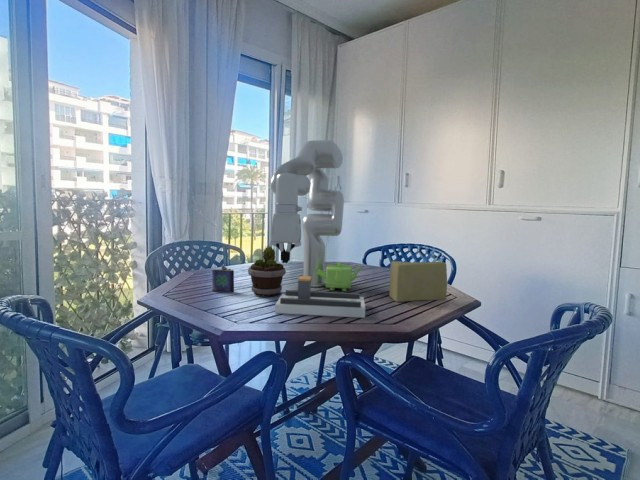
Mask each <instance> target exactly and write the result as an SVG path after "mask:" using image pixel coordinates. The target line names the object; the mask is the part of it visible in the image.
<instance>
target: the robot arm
mask: <svg viewBox="0 0 640 480" xmlns="http://www.w3.org/2000/svg"><path fill="white" fill-rule="evenodd" d="M343 158H344V157H343V153H342V150H341V149H340V148H339V146H338V145H337V144H336V142H334V141H332V140H325V139H324V140H307V141H306V142H304V143H303V144H302V146H301V148H300V150H299V151H298V153H297V155H296V157H294V158H292V159H290V160H288V161H286V162H284V163H283V164H280V165H279V166H278V167H277V168H276V170H275V172H274V173H273V174H272V178H271V180H270V189H271V191H272V193H273V194H274V195H275V212H274V213H273V215H272V220H271V227H270V229H271V230H270V243H269V246H272V247H276V248H277V249H278V250H279V251H280V261H281V262H282V263H281V264H288V263H289V261H290V260H291V251H292V250H293V249H295V248H297V247H301V246H302V240H301V239H302V232H303V268H302V269H303V271H302V274H303V275H302V276H311V288H319V287H326V279H324V278H323V277H322V276H320V275H319V274H317V273H316V272H317V271H318V270H319V269H320V270H321V271H323V272H324V273H325V269H326V268H325V265H326V264H325V263H326V244H325V241H324V240H323V238H322V237H321V236H323V237H324V236H325V237H326V236H327V237H338V236H339V235H340V234H341V232H342V230H343V229H342V228H343V219H344V218H343V217H344V205H345V204H344V203H345V202H344V201H345V200H344V195H343V193H342V192H341V191H340V190H337V189H335V190H334V189H329V181H330V180H329V177H328V175H327V174H326V172H324V170H323V169H339V168H340V167H341V166H342V164H343V160H344V159H343ZM307 194H308V198H307V206H308V208H309V210H311V211H314V212H315V211H316V212H331V214H329V213H308V214H306V215H304V217H303V218H302V221H301V215H300V213H299V212H302V209H303V207H302V206H299V204H298V202H299V200H298V199H299V197H302V196H305V195H307ZM298 213H299V214H298ZM285 244H287V246H286V248H285Z"/></svg>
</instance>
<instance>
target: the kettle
mask: <svg viewBox="0 0 640 480" xmlns="http://www.w3.org/2000/svg"><path fill="white" fill-rule="evenodd" d="M363 268H364V267H363V266H358V267H356V268H355V270H354V273H352V270H353V269H352V265H345V264H343V263H342V262H336V264H326V268H325V269H326V271H324V272H323V271H321V270H320V269H319V270H318V271H317V272H316V273H317V274H319V275H320V276H322V277H323V278H324V280H326V285H325V288H329V290H328V291H330V292H335V289H341V292H348V289H352V282H353V281H355V279H356V278H357V275H358V273H359V271H360V270H361V269H363Z"/></svg>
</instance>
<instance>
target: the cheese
mask: <svg viewBox="0 0 640 480" xmlns="http://www.w3.org/2000/svg"><path fill="white" fill-rule="evenodd" d="M447 269H448V268H447V263H445V262H443V261H427V262H425V261H424V262H421V261H420V262H416V261H415V262H410V261H409V262H408V261H396V260H392V261H391V262H390V271H389V273H390V275H389V276H390V278H389V297H390V298H391V299H392V300H393V301H394V302H396V303H401V302H402V303H403V302H404V303H405V302H416V301H441V300H442V301H443V300H446V299H447V290H448V272H447Z"/></svg>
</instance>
